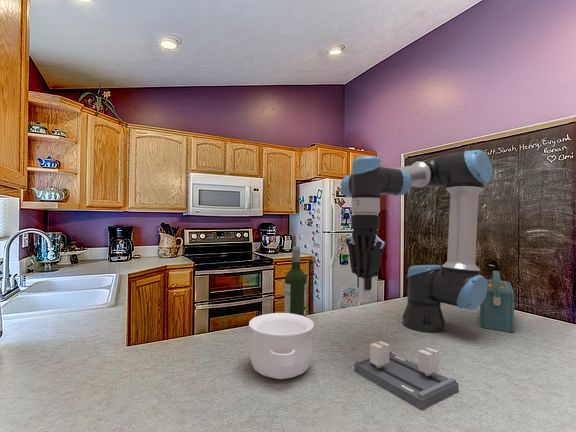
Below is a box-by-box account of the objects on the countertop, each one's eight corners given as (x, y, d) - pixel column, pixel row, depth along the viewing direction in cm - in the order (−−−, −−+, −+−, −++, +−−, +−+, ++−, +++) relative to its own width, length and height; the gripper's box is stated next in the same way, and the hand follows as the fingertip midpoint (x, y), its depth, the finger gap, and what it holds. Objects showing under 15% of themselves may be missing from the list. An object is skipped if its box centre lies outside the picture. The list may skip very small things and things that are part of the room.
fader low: (369, 366, 81) (370, 343, 81) (380, 363, 83) (380, 340, 83) (378, 371, 79) (378, 346, 79) (389, 367, 81) (389, 343, 81)
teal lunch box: (515, 334, 113) (515, 278, 114) (479, 328, 119) (480, 275, 119) (510, 316, 135) (510, 269, 135) (480, 312, 141) (481, 267, 141)
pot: (323, 388, 75) (324, 336, 75) (249, 393, 72) (250, 340, 72) (304, 350, 97) (304, 310, 97) (246, 353, 94) (247, 312, 94)
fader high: (417, 374, 77) (418, 349, 77) (427, 370, 80) (428, 346, 80) (428, 379, 75) (429, 354, 75) (438, 375, 77) (438, 350, 77)
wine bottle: (310, 330, 114) (311, 247, 114) (292, 335, 109) (293, 248, 109) (297, 324, 120) (298, 245, 120) (279, 328, 116) (281, 246, 116)
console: (354, 371, 84) (354, 360, 84) (389, 359, 91) (389, 349, 91) (421, 410, 67) (421, 396, 67) (458, 391, 74) (458, 379, 74)
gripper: (338, 214, 90) (337, 297, 89) (374, 213, 79) (372, 309, 78) (358, 214, 94) (356, 294, 93) (394, 214, 83) (393, 305, 82)
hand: (364, 301), depth 86 cm, fingers closed
